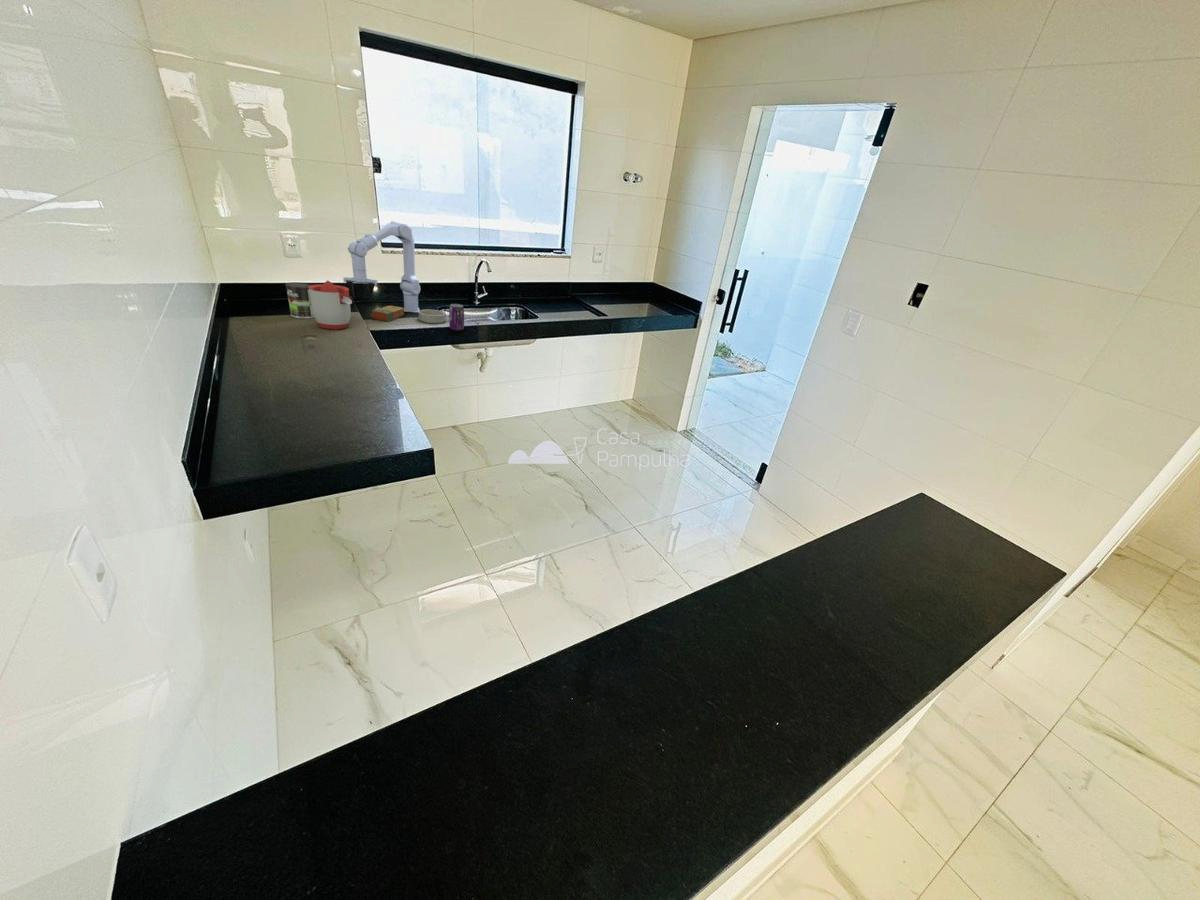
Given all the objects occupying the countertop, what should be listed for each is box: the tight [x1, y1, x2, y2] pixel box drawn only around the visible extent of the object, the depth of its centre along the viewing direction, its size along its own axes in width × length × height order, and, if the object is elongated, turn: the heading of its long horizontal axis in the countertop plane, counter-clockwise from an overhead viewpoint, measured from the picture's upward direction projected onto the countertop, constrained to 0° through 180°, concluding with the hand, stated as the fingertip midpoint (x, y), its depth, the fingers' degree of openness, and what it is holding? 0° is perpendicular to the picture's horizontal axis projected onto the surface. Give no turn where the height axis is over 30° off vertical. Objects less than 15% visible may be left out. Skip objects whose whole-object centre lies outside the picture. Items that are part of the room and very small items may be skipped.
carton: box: [371, 305, 405, 322], centre depth 235 cm, size 8×16×4 cm, turn 171°
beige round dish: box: [417, 309, 446, 324], centre depth 241 cm, size 13×13×4 cm
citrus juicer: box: [308, 280, 353, 331], centre depth 205 cm, size 16×17×20 cm
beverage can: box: [448, 303, 465, 332], centre depth 231 cm, size 7×7×12 cm
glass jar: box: [285, 282, 315, 319], centre depth 214 cm, size 10×10×14 cm
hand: (362, 298), depth 228 cm, fingers open, 7 cm apart
